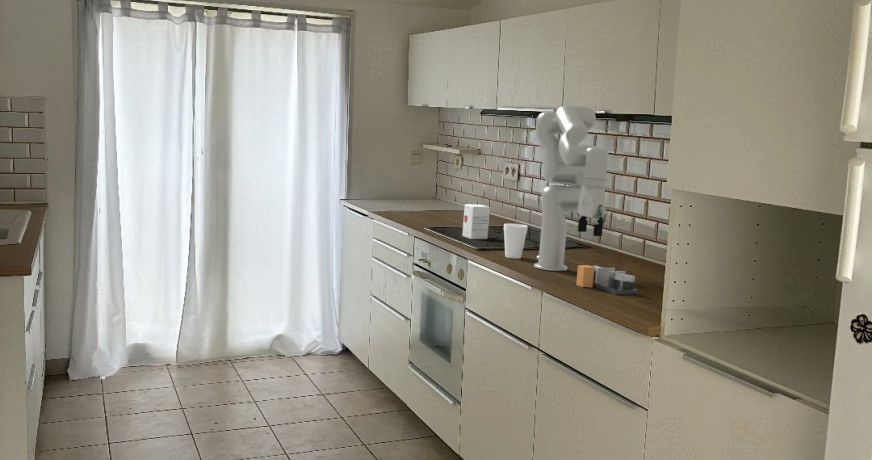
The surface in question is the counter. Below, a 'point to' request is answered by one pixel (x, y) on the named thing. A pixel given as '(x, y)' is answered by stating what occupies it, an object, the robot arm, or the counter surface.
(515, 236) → the foam cup
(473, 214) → the supplement box
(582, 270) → the orange block
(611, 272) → the shaft stand
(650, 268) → the counter surface
